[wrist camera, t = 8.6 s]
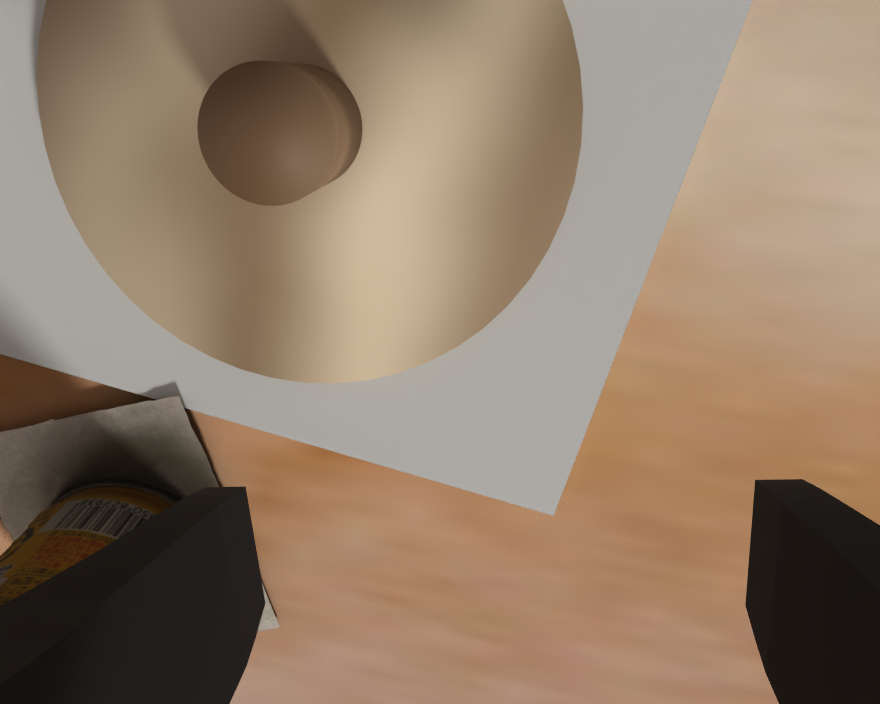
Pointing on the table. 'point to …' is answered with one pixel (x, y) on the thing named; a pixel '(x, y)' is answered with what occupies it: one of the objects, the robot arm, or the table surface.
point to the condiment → (93, 486)
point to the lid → (314, 167)
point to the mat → (459, 370)
